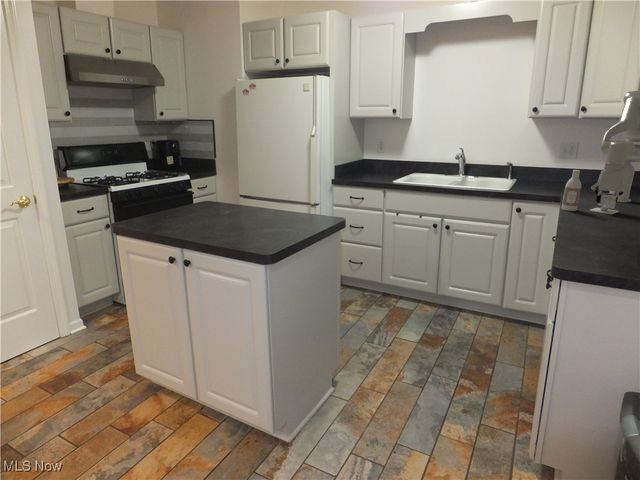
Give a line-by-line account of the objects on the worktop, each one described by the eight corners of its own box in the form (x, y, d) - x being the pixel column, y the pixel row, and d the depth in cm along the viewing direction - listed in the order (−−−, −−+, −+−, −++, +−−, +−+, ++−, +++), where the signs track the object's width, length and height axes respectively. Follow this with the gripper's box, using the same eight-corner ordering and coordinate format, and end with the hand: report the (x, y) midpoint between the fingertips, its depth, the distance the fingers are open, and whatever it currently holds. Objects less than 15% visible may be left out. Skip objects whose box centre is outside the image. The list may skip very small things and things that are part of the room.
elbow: (596, 203, 220) (599, 192, 218) (610, 204, 218) (613, 193, 216) (602, 207, 209) (604, 196, 207) (617, 209, 207) (619, 197, 205)
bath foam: (560, 210, 217) (568, 170, 211) (561, 207, 223) (568, 168, 217) (576, 211, 214) (584, 171, 208) (576, 209, 219) (584, 170, 214)
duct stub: (596, 208, 223) (599, 196, 222) (618, 211, 216) (621, 199, 214) (589, 210, 217) (591, 198, 215) (611, 214, 210) (614, 201, 208)
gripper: (631, 168, 211) (623, 204, 216) (591, 165, 217) (584, 200, 222) (636, 169, 204) (627, 206, 209) (595, 167, 210) (587, 203, 215)
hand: (605, 203), depth 216 cm, fingers closed on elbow, 6 cm apart
